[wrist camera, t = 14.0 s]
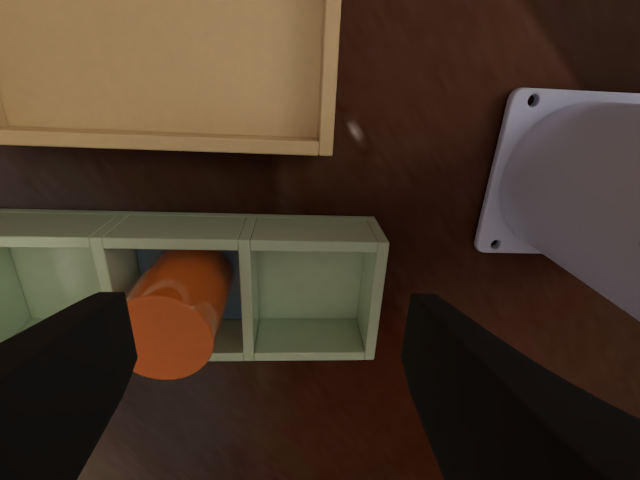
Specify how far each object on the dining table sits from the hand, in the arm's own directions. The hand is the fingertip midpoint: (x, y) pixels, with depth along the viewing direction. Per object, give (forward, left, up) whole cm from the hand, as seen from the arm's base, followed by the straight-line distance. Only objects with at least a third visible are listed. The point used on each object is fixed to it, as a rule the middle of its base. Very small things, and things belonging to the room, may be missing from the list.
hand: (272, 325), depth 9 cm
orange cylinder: (+4, +4, -9) cm, 10 cm away
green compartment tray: (+4, +4, -9) cm, 11 cm away
